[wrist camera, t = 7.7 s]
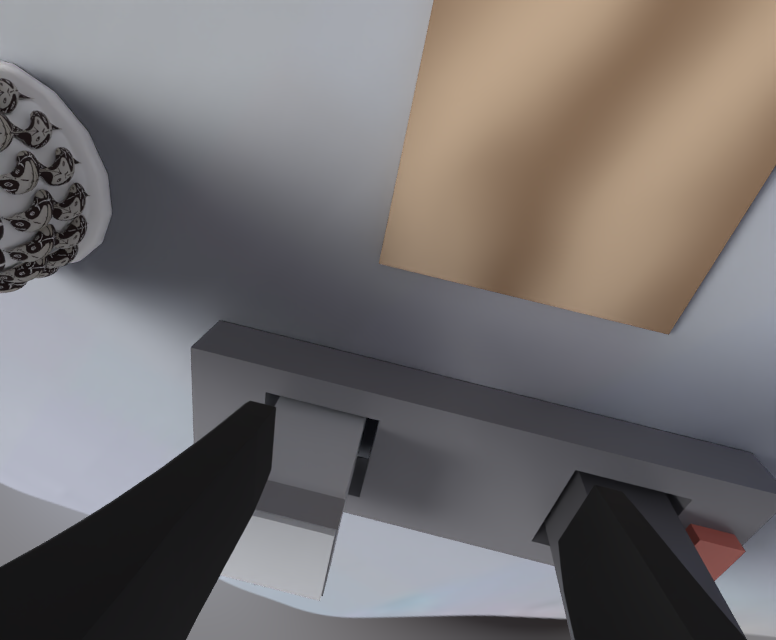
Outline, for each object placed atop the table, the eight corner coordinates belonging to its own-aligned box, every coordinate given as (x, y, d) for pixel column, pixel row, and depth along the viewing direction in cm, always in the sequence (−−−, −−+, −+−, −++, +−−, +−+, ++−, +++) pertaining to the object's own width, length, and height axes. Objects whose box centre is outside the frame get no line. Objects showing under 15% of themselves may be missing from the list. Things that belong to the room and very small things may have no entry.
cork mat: (889, -43, 11) (912, -50, 11) (661, 327, 17) (668, 334, 16) (464, -139, 11) (465, -151, 11) (380, 258, 17) (378, 263, 17)
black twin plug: (647, 461, 20) (752, 648, 13) (610, 511, 22) (684, 699, 15) (568, 441, 20) (631, 618, 13) (537, 493, 22) (578, 672, 15)
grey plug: (374, 387, 20) (335, 535, 13) (361, 445, 22) (321, 602, 15) (295, 368, 20) (214, 505, 13) (288, 427, 22) (215, 574, 15)
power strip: (752, 453, 19) (806, 514, 16) (663, 552, 23) (694, 616, 20) (219, 320, 20) (179, 357, 17) (218, 439, 24) (186, 486, 21)
